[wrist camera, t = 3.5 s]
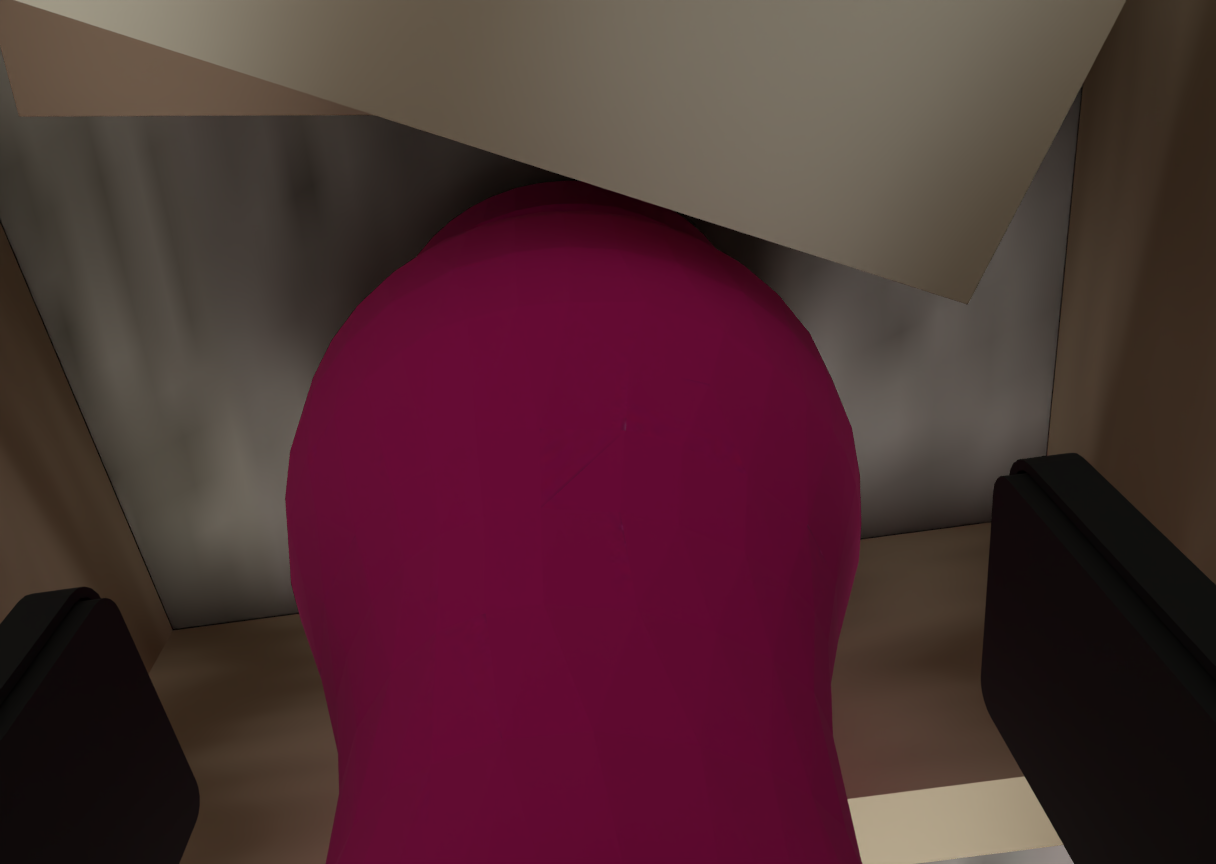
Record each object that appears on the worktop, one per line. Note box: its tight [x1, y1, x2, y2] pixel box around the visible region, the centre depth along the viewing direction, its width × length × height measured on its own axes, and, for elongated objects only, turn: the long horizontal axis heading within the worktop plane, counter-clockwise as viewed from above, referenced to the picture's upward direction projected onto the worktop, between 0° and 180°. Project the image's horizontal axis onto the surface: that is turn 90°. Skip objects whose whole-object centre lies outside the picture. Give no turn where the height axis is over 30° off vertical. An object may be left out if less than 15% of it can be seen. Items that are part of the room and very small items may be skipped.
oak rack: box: [0, 0, 1216, 864], centre depth 13 cm, size 20×16×6 cm
